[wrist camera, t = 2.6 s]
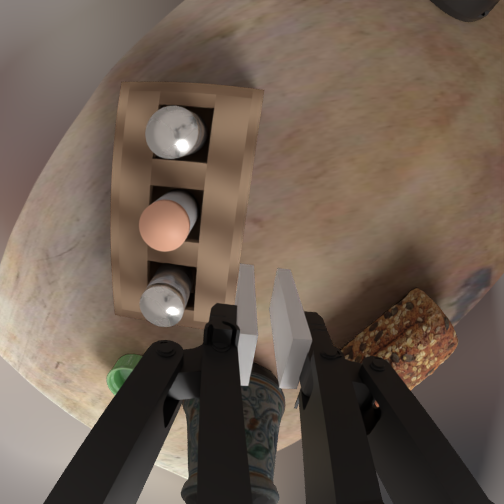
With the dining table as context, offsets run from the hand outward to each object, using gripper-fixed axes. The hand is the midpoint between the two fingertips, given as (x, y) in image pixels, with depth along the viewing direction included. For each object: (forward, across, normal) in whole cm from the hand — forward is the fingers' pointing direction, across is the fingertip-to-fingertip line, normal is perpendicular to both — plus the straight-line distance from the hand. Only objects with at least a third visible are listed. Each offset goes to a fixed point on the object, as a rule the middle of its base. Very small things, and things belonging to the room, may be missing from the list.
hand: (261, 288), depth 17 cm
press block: (+20, -8, 0) cm, 22 cm away
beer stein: (+21, +2, -32) cm, 38 cm away
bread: (+21, +24, -18) cm, 36 cm away
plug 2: (+15, -8, -8) cm, 19 cm away
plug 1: (+15, -8, +8) cm, 19 cm away
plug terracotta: (+15, -8, 0) cm, 17 cm away
